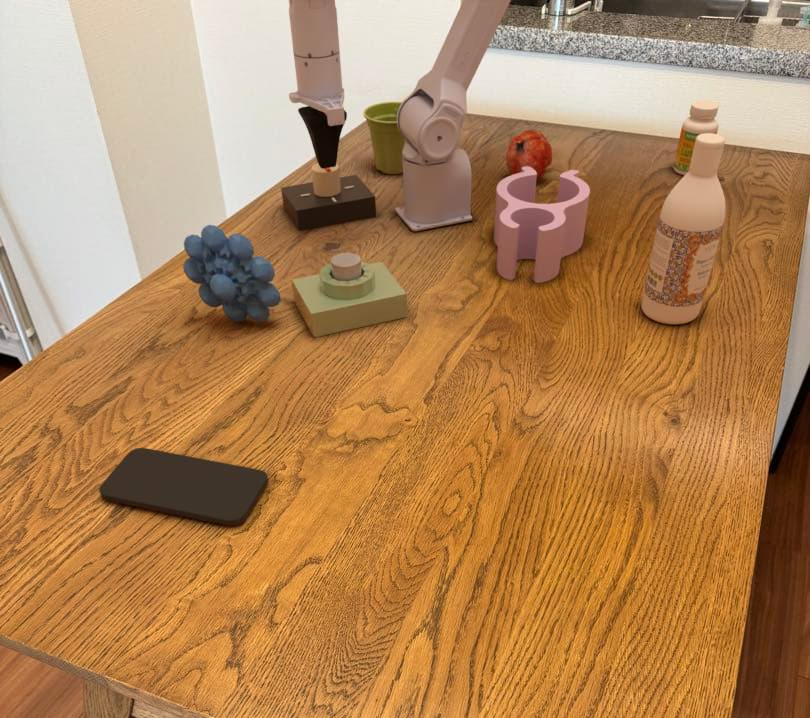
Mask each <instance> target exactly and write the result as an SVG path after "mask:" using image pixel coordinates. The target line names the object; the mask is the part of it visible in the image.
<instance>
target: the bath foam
mask: <svg viewBox="0 0 810 718" xmlns="http://www.w3.org/2000/svg"><path fill="white" fill-rule="evenodd" d="M725 143H726V138H725V137H724V136H723V135H721V134H718V133H717V134H713V133H705V134H700V135H698V136H697V138H696V141H695V145H694V149H693V154H692V158H691V163H690V168H689V172H688V173H687V174H686V175H685V176H684V175H683V177H682V178H681V179H680V180H679V181H678V182H677V183H676V184H675V185H674V187H673V188H672V189H671V191H670V192H669V194H668V195H667V196H666V197H665V199H664V202H663V204H662V207H661V209H660V213H659V215H658V222H657V226H656V231H655V235H654V236H655V237H654V240H653V245H652V250H651V256H650V260H649V265H648V270H647V275H646V279H645V284H644V288H643V293H642V299H641V305H640V306H641V310H642V312H643V314H644V315H645V316H646V317H647V318H649V319H651V320H652V321H655V322H658V323H660V324H666V325H684V324H687V323H689V322H692V321H694V320H695V319H697V317H698V316H699V315H700V312H701V308H702V305H703V300H704V299H705V294H706V291H707V287H708V283H709V280H710V276H711V272H712V269H713V265H714V262H715V257H716V253H717V250H718V248H719V247H718V246H719V243H720V240H721V236H722V231H723V228H724V224H725V219H726V210H727V209H726V207H727V206H726V198H725V194H724V190H723V188H722V185H721V182H720V180H719V178H718V171H719V166H720V163H721V159H722V155H723V151H724V147H725Z"/></svg>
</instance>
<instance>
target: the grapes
mask: <svg viewBox="0 0 810 718" xmlns="http://www.w3.org/2000/svg"><path fill="white" fill-rule="evenodd" d="M183 248H184V251H185V252H186V254H187V256H188V258H187V259H185V260H184V262H183V265H182V269H183V273H184V274H185V276H186V278H187V279H188V280H189V281H191V282H193V283H195V284H197V285H199V287H198V290H197V291H198V295H199V297H200V299H201V300H202V302H203V303H204V304H205V305H207V306H208V307H210V308H218V307H220V306H222V311H223V313H224V315H225V316H226V318H228V319H229V320H230V321H232V322H234V323H242V322H244V321H246V320H247V318H248V317H249V318H250V319H251V320H252V321H254V322H256V323H264V322H266V321H268V320H269V318H270V316H271V313H270V308H274V307H276V306H278V305H279V304H280V303H281V299H282V298H281V293H280V291H279V289H278V288H277V286H276V285H274V284H273V283H271V282H272V281H273V280H274V278H275V275H276V274H275V268H274V266H273V265H272V263H271V261H270V260H268V259H267V258H265V257H264V256H260V255H255V250H254V246H253V244H252V242H251V240H250V239H249V238H248V237H247V236H244V234H242V233H233V234H231V235H230V236H228V237H227V235H226V233H225V232H224V230H223V229H221V228H219V227H218V226H216V225H213V224H207V225H206V226H204V227H203V228H202V230H201V232H200V235H198V234H190V235H188V236H186V237H185V239H184V241H183ZM254 255H255V256H254Z"/></svg>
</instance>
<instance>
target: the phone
mask: <svg viewBox="0 0 810 718" xmlns="http://www.w3.org/2000/svg"><path fill="white" fill-rule="evenodd" d="M268 484H269V479H268V474H267V473H266V471H264V470H261V469H256V468H253V467H248V466H247V467H246V466H240V465H238V464H237V465H236V464H231V463H226V462H220V461H215V460H210V459H204V458H200V457H194V456H188V455H184V454H179V453H173V452H167V451H162V450H157V449H152V448H146V447H137V448H134V449H131V450H130V451H129V452H128V453H127V454H126V455H125V456H124V457H123V459H122V460H121V461H120V462H119V463H118V464H117V466H116V467H115V468H114V469H113V470H112V472H111V473H110V474H109V475H108V476H107V478H106V479H104V481H103V482H102V484H100V487H99V494H100V496H101V498H102V499H103V500H105V501H109V502H114V503H118V504H123V505H128V506H133V507H138V508H141V509H142V508H143V509H148V510H151V511H157V512H162V513H165V514H166V513H167V514H171V515H176V516H180V517H185V518H191V519H194V520H199V521H204V522H205V521H206V522H211V523H214V524H220V525H224V526H229V527H232V526H239V525H241V524H242V523H244V522H245V521H246V520H247V518H248V517H249V515H250V513H251V512H252V510H253V508H254V507H255V505H256V504H257V502H258V500H259V499H260V497H262V494H263V492H264V491H265V489H266V487H267V486H268Z"/></svg>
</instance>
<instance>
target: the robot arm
mask: <svg viewBox="0 0 810 718" xmlns="http://www.w3.org/2000/svg"><path fill="white" fill-rule="evenodd" d="M511 1H512V0H462V2H461V4H460V6H459V8H458V11H457V13H456V15H455V18H454V20H453V22H452V24H451V26H450V28H449V31H448V33H447V35H446V37H445V39H444V41H443V44H442V45H441V48H440V50H439V53H438V54H437V57H436V59H435V61H434V63H433V66H432V68H431V70H429V71H428V72H427V73H426V74H424V75H423V76H422V77H421V78H419V79H418V81H417V83H416V85H415V87H414V88H413V90H412V92H411V93H410V94H409V95H408V96H407V97H406V98H404V100H402V101H401V102H402V103H401V105H400V107H399V109H398V112H397V126H398V129H399V131H400V133H401V134H402V136H403V137H404V138H405V145H404V148H403V172H402V184H403V205H402V206H397V207H395V208H394V212H395V213H396V214H397V215H398V217H399V218H400V219H401V220H402V221H403V222H404V223H405V224H406V226H407V227H408V228H409V229H410V230H411V231H412V232H418V231H419V232H420V231H425V230H429V229H434V228H440V227H445V226H450V225H455V224H460V223H466V222H470V221H472V220H473V216H472V215H471V211H472V210H471V209H472V207H471V204H472V181H473V180H472V176H473V175H472V167H471V166H472V165H471V161H470V157H469V155H468V153H467V152H466V150H465V149H463V148H458V146H459V144H460V142H461V141H460V140H461V132H462V126H463V123H464V121H465V118H466V116H467V114H468V106H467V105H468V104H467V101H468V100H467V91H468V89H469V87H470V85H471V83H472V81H473V79H474V77H475V74H476V73H477V71H478V68H479V66H480V65H481V62H482V61H483V58H484V56H485V55H486V52H487V50H488V48H489V46H490V44H491V42H492V40H493V38H494V35H495V34H496V32H497V30H498V28H499V26H500V24H501V21H502V19H503V17H504V16H505V14H506V12H507V9H508V7H509V5H510V3H511ZM288 4H289V5H288V6H289V7H288V16H289V25H290V34H291V43H292V50H293V60H294V68H295V69H294V70H295V78H296V86H297V90H296V91H293V92H290V93H288V99H289V101H290V102H291V103H292V104H298V103H299V104H302V105H305V106H302V107H299V108H298V109H297V112H298V113H299V116H300V117H301V119H302V121H303V123H304V125H305V127H306V129H307V132H308V135H309V138H310V141H311V144H312V149H313V151H314V156H315V159H316V162H317V163H318V164H319V166H320V167H321V169H324V168H330V167H335V166H336V164H337V161H338V154H339V145H340V139H341V134H342V131H343V128H344V126H345V124H346V122H347V118H348V112H347V111H346V110H345V107H344V101H345V88H344V87H343V79H342V77H343V76H342V65H341V64H342V63H341V51H340V39H339V38H340V37H339V26H338V11H337V6H336V0H288Z"/></svg>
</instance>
